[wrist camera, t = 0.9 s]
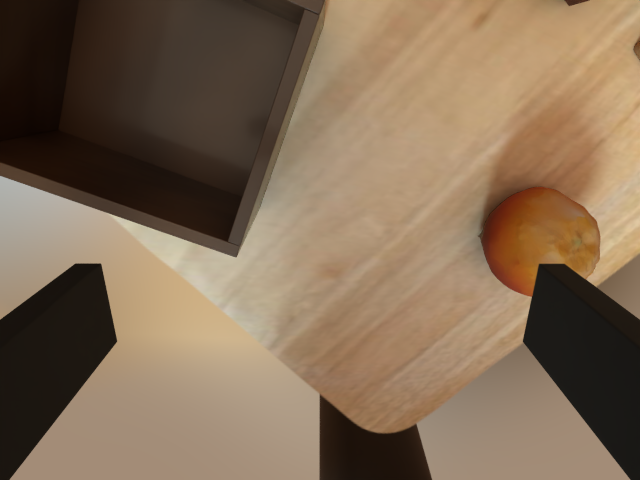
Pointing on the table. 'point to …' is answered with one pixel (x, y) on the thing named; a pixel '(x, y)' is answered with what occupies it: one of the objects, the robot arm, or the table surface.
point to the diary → (574, 2)
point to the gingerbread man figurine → (637, 49)
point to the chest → (154, 105)
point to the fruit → (539, 237)
